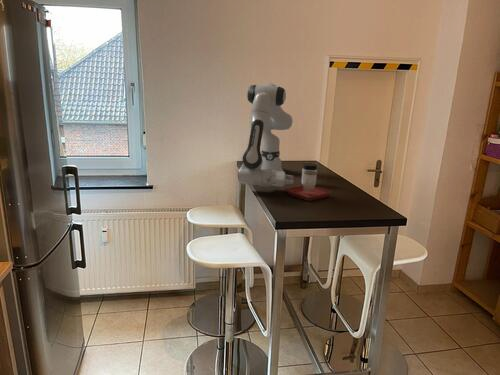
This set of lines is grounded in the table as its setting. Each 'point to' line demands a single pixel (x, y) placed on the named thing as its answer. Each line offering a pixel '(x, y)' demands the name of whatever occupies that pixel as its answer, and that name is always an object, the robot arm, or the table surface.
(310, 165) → the jar
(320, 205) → the table surface
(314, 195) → the plant saucer
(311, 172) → the canister
